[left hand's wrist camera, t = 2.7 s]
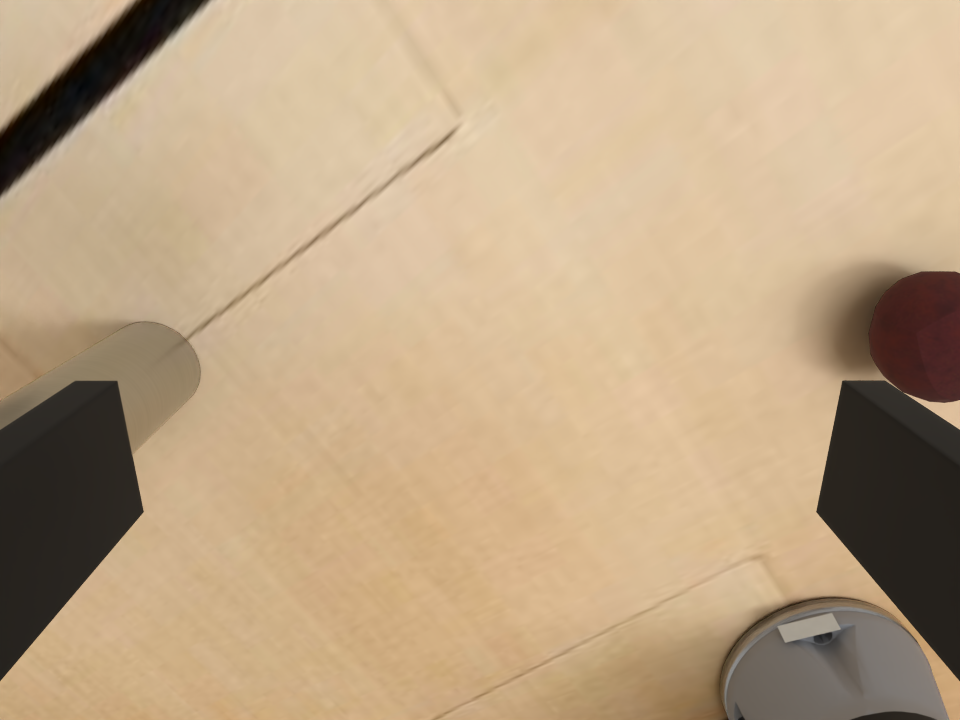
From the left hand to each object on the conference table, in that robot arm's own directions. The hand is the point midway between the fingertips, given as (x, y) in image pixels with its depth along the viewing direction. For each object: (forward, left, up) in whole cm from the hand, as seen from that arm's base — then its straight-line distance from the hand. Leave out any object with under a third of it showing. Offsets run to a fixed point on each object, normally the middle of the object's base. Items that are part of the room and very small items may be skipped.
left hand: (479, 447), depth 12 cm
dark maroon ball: (+6, +27, -30) cm, 41 cm away
